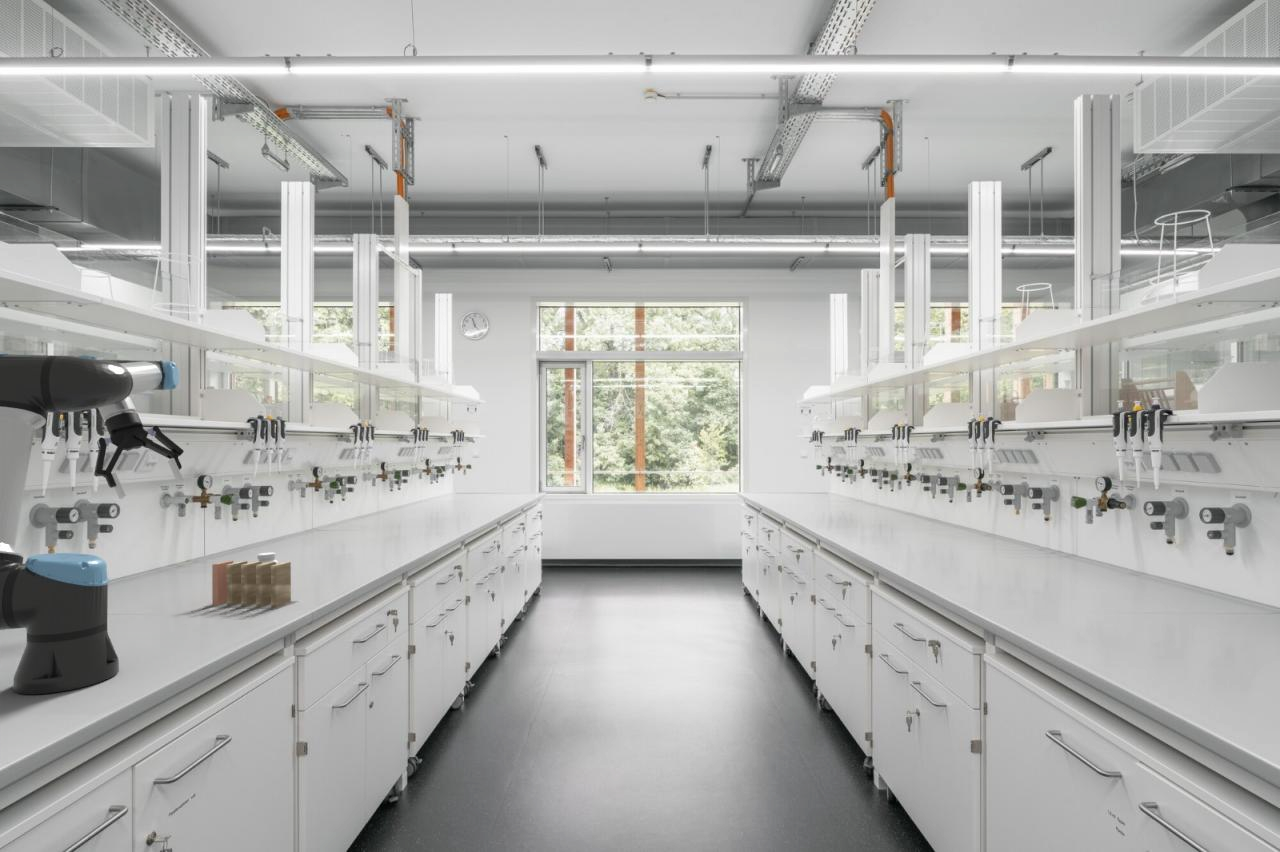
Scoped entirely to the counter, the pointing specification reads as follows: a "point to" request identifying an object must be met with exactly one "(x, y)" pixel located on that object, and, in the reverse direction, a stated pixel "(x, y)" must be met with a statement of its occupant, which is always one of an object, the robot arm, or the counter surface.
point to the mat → (249, 606)
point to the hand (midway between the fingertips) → (152, 489)
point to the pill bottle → (267, 557)
